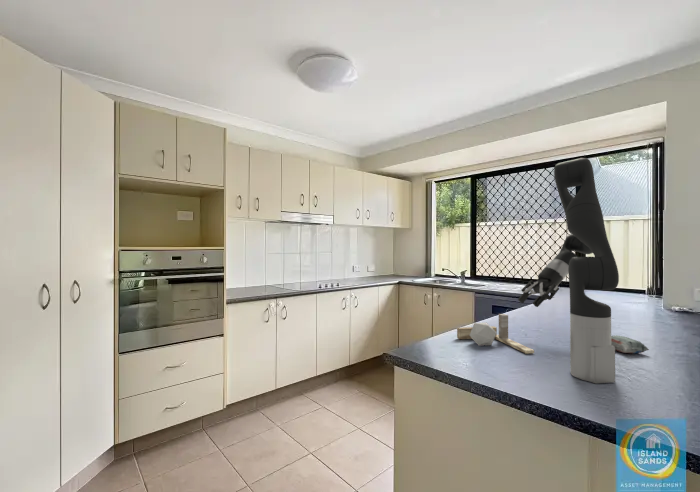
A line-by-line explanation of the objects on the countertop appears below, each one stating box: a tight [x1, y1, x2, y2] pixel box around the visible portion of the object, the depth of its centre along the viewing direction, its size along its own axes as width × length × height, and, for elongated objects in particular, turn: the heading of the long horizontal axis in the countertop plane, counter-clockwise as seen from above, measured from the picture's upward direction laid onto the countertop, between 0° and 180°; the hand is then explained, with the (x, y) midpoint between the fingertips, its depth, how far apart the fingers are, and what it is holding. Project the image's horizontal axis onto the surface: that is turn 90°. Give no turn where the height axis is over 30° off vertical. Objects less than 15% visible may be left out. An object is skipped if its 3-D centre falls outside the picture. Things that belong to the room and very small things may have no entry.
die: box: [469, 322, 498, 347], centre depth 122 cm, size 8×9×10 cm
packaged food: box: [611, 335, 650, 354], centre depth 114 cm, size 9×12×5 cm
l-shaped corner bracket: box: [456, 313, 535, 355], centre depth 120 cm, size 22×17×10 cm
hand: (527, 303), depth 127 cm, fingers open, 8 cm apart
